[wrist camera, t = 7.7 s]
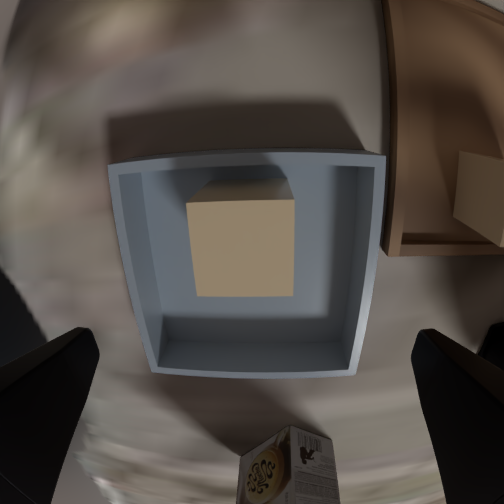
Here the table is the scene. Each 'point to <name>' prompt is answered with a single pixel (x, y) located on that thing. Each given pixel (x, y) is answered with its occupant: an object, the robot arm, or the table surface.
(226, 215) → the tan rectangular block
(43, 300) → the table surface
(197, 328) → the slate bin
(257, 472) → the coffee box
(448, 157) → the walnut caddy
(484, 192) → the stone
